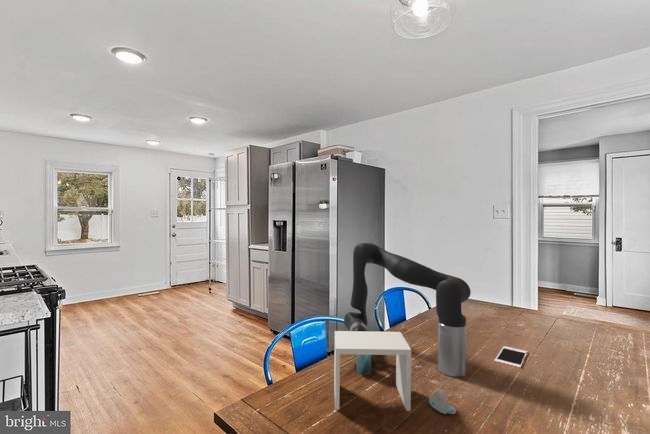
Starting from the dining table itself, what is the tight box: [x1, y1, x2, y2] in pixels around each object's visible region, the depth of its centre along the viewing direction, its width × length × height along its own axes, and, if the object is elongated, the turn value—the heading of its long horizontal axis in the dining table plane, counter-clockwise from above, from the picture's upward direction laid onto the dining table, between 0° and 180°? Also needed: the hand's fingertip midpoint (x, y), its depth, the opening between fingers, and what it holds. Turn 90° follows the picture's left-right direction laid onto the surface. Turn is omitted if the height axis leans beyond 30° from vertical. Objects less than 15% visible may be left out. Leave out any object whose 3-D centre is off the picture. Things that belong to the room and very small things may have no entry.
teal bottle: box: [355, 354, 372, 376], centre depth 115 cm, size 5×5×12 cm
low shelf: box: [333, 330, 412, 412], centre depth 99 cm, size 14×22×18 cm, turn 90°
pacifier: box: [428, 388, 457, 415], centre depth 93 cm, size 7×6×6 cm
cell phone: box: [494, 346, 528, 367], centre depth 128 cm, size 9×18×1 cm, turn 141°
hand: (364, 351), depth 115 cm, fingers open, 8 cm apart
